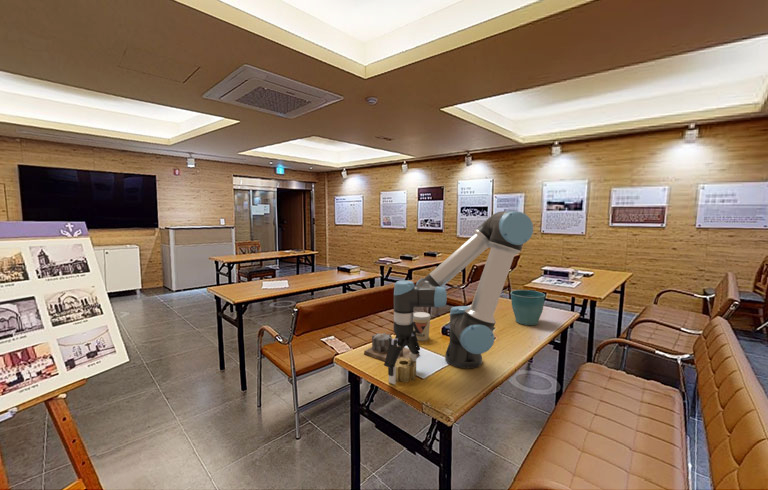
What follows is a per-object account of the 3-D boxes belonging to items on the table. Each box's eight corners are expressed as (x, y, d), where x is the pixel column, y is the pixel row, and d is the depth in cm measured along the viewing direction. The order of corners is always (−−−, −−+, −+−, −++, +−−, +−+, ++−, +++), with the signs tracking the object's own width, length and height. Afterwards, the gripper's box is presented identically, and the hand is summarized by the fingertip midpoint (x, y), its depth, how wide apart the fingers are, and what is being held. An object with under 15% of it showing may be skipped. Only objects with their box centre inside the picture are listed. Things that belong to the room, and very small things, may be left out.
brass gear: (420, 375, 126) (420, 361, 126) (406, 385, 119) (406, 370, 118) (400, 368, 132) (400, 355, 132) (386, 377, 125) (386, 363, 124)
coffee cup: (409, 339, 162) (409, 316, 161) (414, 333, 171) (414, 311, 170) (427, 342, 159) (427, 318, 158) (432, 336, 168) (432, 313, 167)
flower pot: (505, 323, 186) (506, 294, 185) (513, 315, 201) (514, 288, 199) (540, 329, 176) (542, 298, 174) (546, 321, 191) (547, 292, 189)
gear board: (419, 355, 144) (419, 337, 144) (401, 366, 134) (401, 347, 133) (383, 344, 157) (383, 328, 156) (364, 354, 146) (364, 336, 145)
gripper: (413, 312, 136) (412, 362, 138) (374, 328, 116) (374, 386, 118) (429, 316, 131) (428, 367, 133) (391, 333, 111) (390, 393, 113)
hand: (402, 376), depth 125 cm, fingers open, 13 cm apart
